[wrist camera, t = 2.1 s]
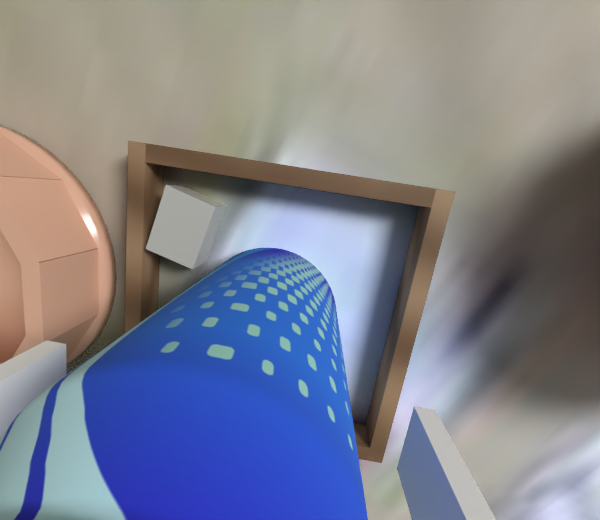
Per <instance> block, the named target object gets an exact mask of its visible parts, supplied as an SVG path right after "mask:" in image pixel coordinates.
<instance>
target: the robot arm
mask: <svg viewBox="0 0 600 520" xmlns="http://www.w3.org/2000/svg"><path fill="white" fill-rule="evenodd" d="M65 375H67V364H66V344H64V343H58V342H53V341H47V340H46V341H44V342H43V343H41V344H39V345H37V346H35V347H33V348H31V349H29V350H27V351H25V352H23V353H21V354H19V355H17V356H15V357H14V358H12V359H10V360H8V361H6V362H4V363H2V364H0V438H1V437H2V435H3V434H4V433H5V431H6V430H7V429H8V427H9V426H10V425H11V423H12V422H13V421H14V419H15V418H16V417H17V415H18V414H19V413H20V412H21V411H22V410H23V409H24V408H25V407H26V406H27V405H28V404H29V403H30V402H32V401H33V400H34V399H35V398H36V397H37V396H38V395H40V394H41V393H42V392H44V391H45V390H46V389H47V388H49V387H50V386H51V385H53V384H54V383H56V382H57V381H58V380H60V379H61V378H63V377H64V376H65ZM397 470H398V473H399V477H400V480H401V483H402V487H403V490H404V494H405V497H406V501H407V504H408V507H409V511H410V514H411V518H412V520H496V519H495V517H494V515H493V513H492V512H491V510H490V508H489V506H488V504H487V503H486V501H485V499H484V497H483V495H482V494H481V492H480V490H479V488H478V486H477V485H476V483H475V481H474V479H473V477H472V476H471V474H470V472H469V470H468V468H467V467H466V465H465V463H464V461H463V459H462V457H461V456H460V454H459V452H458V450H457V448H456V447H455V445H454V443H453V441H452V439H451V438H450V436H449V434H448V432H447V430H446V429H445V427H444V425H443V423H442V421H441V420H440V418H439V416H438V414H437V412H436V411H435V410H431V409H425V408H420V407H414V409H413V413H412V416H411V420H410V424H409V427H408V431H407V434H406V438H405V442H404V445H403V449H402V452H401V456H400V460H399V463H398V467H397Z"/></svg>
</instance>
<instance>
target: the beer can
mask: <svg viewBox="0 0 600 520" xmlns="http://www.w3.org/2000/svg"><path fill="white" fill-rule="evenodd" d="M0 520H368V518H367V511H366V504H365V497H364V491H363V484H362V478H361V471H360V464H359V458H358V451H357V445H356V438H355V431H354V425H353V418H352V411H351V405H350V398H349V392H348V385H347V378H346V372H345V365H344V359H343V352H342V345H341V339H340V332H339V326H338V319H337V312H336V306H335V300H334V296H333V293H332V290H331V288H330V286H329V284H328V282H327V281H326V279H325V278H324V276H323V275H322V274H321V272H320V271H319V270H318V269H317V268H316V267H315V266H314V265H313V264H311V263H310V262H309V261H307V260H306V259H304V258H303V257H301V256H299V255H297V254H295V253H292V252H289V251H286V250H282V249H277V248H257V249H252V250H248V251H245V252H242V253H240V254H238V255H236V256H234V257H232V258H231V259H229V260H228V261H226V262H225V263H223V264H222V265H221V266H219V267H218V268H216V269H215V270H213V271H212V272H211V273H209V274H208V275H206V276H205V277H204V278H202V279H201V280H199V281H198V282H197V283H195V284H194V285H192V286H191V287H190V288H188V289H187V290H185V291H184V292H182V293H181V294H180V295H178V296H177V297H175V298H174V299H173V300H171V301H170V302H168V303H167V304H166V305H164V306H163V307H161V308H160V309H158V310H157V311H156V312H154V313H153V314H151V315H150V316H149V317H147V318H146V319H144V320H143V321H142V322H140V323H139V324H137V325H136V326H135V327H133V328H132V329H130V330H129V331H127V332H126V333H125V334H123V335H122V336H120V337H119V338H118V339H116V340H115V341H113V342H112V343H111V344H109V345H108V346H106V347H105V348H103V349H102V350H101V351H99V352H98V353H96V354H95V355H94V356H92V357H91V358H89V359H88V360H87V361H85V362H84V363H82V364H81V365H80V366H78V367H77V368H75V369H74V370H72V371H71V372H70V373H68V374H67V375H65V376H64V377H63V378H61V379H60V380H58V381H57V382H56V383H54V384H53V385H51V386H50V387H49V388H47V389H46V390H45V391H44V392H42V393H41V394H40V395H38V396H37V397H36V398H35V399H34V400H33V401H32V402H30V403H29V404H28V405H27V406H26V407H25V408H24V409H23V410H22V411H21V412H20V413H19V414H18V415H17V417H16V418H15V419H14V421H13V422H12V423H11V425H10V426H9V427H8V429H7V430H6V431H5V433H4V434H3V435H2V437H1V438H0Z"/></svg>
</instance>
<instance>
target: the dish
mask: <svg viewBox="0 0 600 520" xmlns="http://www.w3.org/2000/svg"><path fill="white" fill-rule="evenodd" d="M115 290H116V264H115V257H114V252H113V247H112V243H111V240H110V237H109V233H108V230H107V227H106V225H105V223H104V221H103V218H102V216H101V214H100V212H99V210H98V208H97V206H96V205H95V203H94V201H93V200H92V198H91V196H90V194H89V193H88V192H87V190H86V189H85V188H84V186H83V185H82V184H81V182H80V181H79V180H78V178H77V177H76V176H75V175H74V174H73V173H72V172H71V171H70V170H69V169H68V168H67V167H66V165H65V164H64V163H62V162H61V161H60V160H59V159H58V158H57V157H55V156H54V155H53V154H52V153H51V152H50V151H48V150H47V149H45V148H44V147H42V146H41V145H40V144H38V143H37V142H35V141H34V140H32V139H30V138H28V137H26V136H24V135H22V134H21V133H19V132H17V131H15V130H12V129H9V128H7V127H4V126H1V125H0V364H2V363H4V362H6V361H8V360H10V359H12V358H14V357H15V356H17V355H19V354H21V353H23V352H25V351H27V350H29V349H31V348H33V347H35V346H37V345H39V344H41V343H43V342H44V341H46V340H47V341H53V342H58V343H64V344H66V364H67V363H69V362H70V361H72V360H73V359H75V358H76V357H78V356H79V355H81V354H82V353H83V352H84V351H85V350H86V349H88V348H89V347H90V346H91V345H92V344H93V342H94V341H95V340H96V339H97V337H98V336H99V335H100V333H101V332H102V330H103V328H104V326H105V325H106V323H107V321H108V318H109V315H110V313H111V310H112V306H113V302H114V297H115Z"/></svg>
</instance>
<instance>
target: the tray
mask: <svg viewBox="0 0 600 520" xmlns="http://www.w3.org/2000/svg"><path fill="white" fill-rule="evenodd" d="M164 166H168V167H174V168H181V169H187V170H193V171H200V172H206V173H212V174H218V175H225V176H231V177H237V178H244V179H250V180H256V181H263V182H269V183H275V184H281V185H288V186H294V187H300V188H307V189H313V190H319V191H325V192H332V193H338V194H344V195H351V196H357V197H363V198H370V199H376V200H382V201H388V202H395V203H401V204H407V205H414V206H419V209H418V213H417V217H416V221H415V225H414V229H413V233H412V237H411V241H410V245H409V249H408V253H407V258H406V262H405V266H404V270H403V274H402V278H401V282H400V286H399V290H398V294H397V298H396V302H395V306H394V310H393V315H392V319H391V323H390V327H389V331H388V335H387V339H386V343H385V347H384V351H383V355H382V359H381V363H380V367H379V372H378V376H377V380H376V384H375V388H374V392H373V396H372V400H371V404H370V408H369V412H368V416H367V420H366V425H363V424H358V423H353V425H354V431H355V438H356V445H357V451H358V458H359V459H363V460H369V461H374V462H379V463H382V460H383V456H384V453H385V449H386V445H387V441H388V438H389V434H390V430H391V427H392V423H393V419H394V416H395V412H396V408H397V405H398V401H399V397H400V393H401V390H402V386H403V382H404V379H405V375H406V371H407V368H408V364H409V360H410V356H411V353H412V349H413V345H414V342H415V338H416V334H417V331H418V327H419V323H420V320H421V316H422V312H423V308H424V305H425V301H426V297H427V294H428V290H429V286H430V283H431V279H432V275H433V271H434V268H435V264H436V260H437V257H438V253H439V249H440V246H441V242H442V238H443V234H444V231H445V227H446V223H447V220H448V216H449V212H450V209H451V205H452V201H453V198H454V194H455V192H452V191H446V190H440V189H433V188H427V187H421V186H414V185H408V184H401V183H395V182H389V181H382V180H376V179H369V178H363V177H357V176H350V175H344V174H338V173H331V172H325V171H318V170H312V169H306V168H299V167H293V166H287V165H280V164H274V163H267V162H261V161H255V160H248V159H242V158H236V157H229V156H223V155H216V154H210V153H204V152H197V151H191V150H185V149H178V148H172V147H165V146H159V145H153V144H146V143H140V142H134V141H128V177H127V233H126V290H125V333H126V332H127V331H129V330H130V329H132V328H133V327H135V326H136V325H137V324H139V323H140V322H142V321H143V320H144V319H146V318H147V317H149V316H150V315H151V314H153V313H154V312H156V311H157V308H158V286H159V264H160V255H158V254H156V253H154V252H151V251H149V250H147V249H146V246H147V243H148V240H149V237H150V234H151V231H152V227H153V224H154V221H155V218H156V215H157V212H158V208H159V205H160V202H161V199H162V196H163V175H164Z"/></svg>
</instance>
